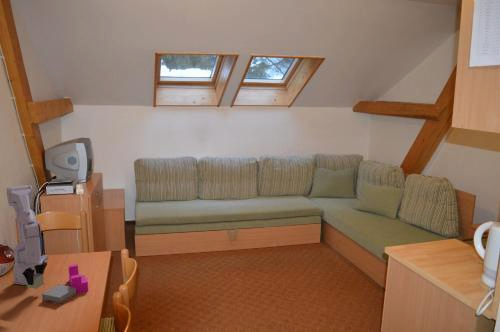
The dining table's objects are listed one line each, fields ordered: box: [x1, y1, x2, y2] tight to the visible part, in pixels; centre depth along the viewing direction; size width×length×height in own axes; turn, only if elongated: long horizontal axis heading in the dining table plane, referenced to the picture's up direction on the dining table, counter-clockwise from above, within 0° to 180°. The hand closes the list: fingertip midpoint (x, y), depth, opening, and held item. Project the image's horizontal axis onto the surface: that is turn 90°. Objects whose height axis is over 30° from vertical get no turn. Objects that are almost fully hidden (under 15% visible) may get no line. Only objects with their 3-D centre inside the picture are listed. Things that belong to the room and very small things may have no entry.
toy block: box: [68, 263, 89, 295], centre depth 178 cm, size 15×6×8 cm, turn 29°
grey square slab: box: [41, 292, 77, 306], centre depth 167 cm, size 9×9×2 cm
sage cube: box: [26, 273, 45, 290], centre depth 169 cm, size 4×4×4 cm
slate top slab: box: [41, 284, 76, 302], centre depth 167 cm, size 9×9×2 cm
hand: (35, 281), depth 170 cm, fingers closed on sage cube, 4 cm apart
